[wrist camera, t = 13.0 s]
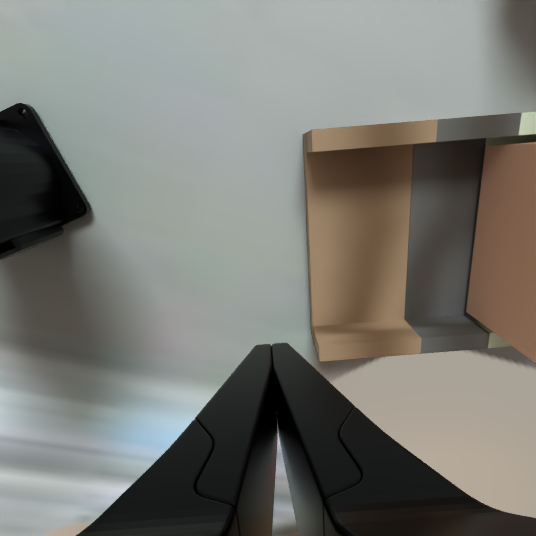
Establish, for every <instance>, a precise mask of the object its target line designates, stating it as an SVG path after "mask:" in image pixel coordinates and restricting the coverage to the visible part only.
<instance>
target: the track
mask: <svg viewBox="0 0 536 536" xmlns="http://www.w3.org/2000/svg"><path fill="white" fill-rule="evenodd" d="M526 142H536V112H525V113H513V114H501V115H488V116H476V117H464V118H451V119H439V120H427V121H414V122H402V123H390V124H377V125H365V126H353V127H340V128H328V129H316V130H310V131H309V132H307V133H305V134H303V150H304V174H305V198H306V222H307V246H308V270H309V294H310V318H311V334H312V337H313V341H314V344H315V348H316V351H317V354H318V358H319V361H320V362H321V361H333V360H346V359H359V358H371V357H384V356H396V355H409V354H421V353H434V352H445V351H459V350H472V349H484V348H497V347H510V346H511V345H510V344H509V343H507V342H506V341H505V340H503V339H502V338H501V337H499V336H498V335H497V334H495V333H494V332H493V331H491V330H490V329H489V328H487V327H486V326H485V325H483V324H482V323H481V322H479V321H478V320H477V319H475V318H474V317H473V316H471V315H470V314H469V313H467V312H466V309H467V301H468V292H469V283H470V275H471V266H472V258H473V249H474V241H475V232H476V224H477V215H478V206H479V198H480V189H481V181H482V172H483V164H484V155H485V147H486V146H489V145H501V144H514V143H526Z"/></svg>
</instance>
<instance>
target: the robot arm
mask: <svg viewBox="0 0 536 536" xmlns="http://www.w3.org/2000/svg"><path fill="white" fill-rule="evenodd" d="M24 109H25V110H26V111H27V117H26V118H24V116H23V114H22V112H23V110H24ZM78 204H80V205H81V206H82V208H83V210H82V211H79V210H78V208H77V206H78ZM89 212H90V205H89V203H88V201H87V200H86V198H85V196H84V194H83V193H82V191H81V189H80V188H79V186H78V184H77V182H76V181H75V179H74V177H73V175H72V174H71V172H70V170H69V168H68V167H67V165H66V163H65V162H64V160H63V158H62V156H61V155H60V153H59V151H58V149H57V148H56V146H55V144H54V142H53V141H52V139H51V137H50V136H49V134H48V132H47V130H46V129H45V127H44V125H43V123H42V122H41V120H40V118H39V116H38V115H37V113H36V111H35V110H34V109H33V107H31V106H30V105H27V104H22V103H18V104H15V105H13V106H11V107H9V108H7V109H5V110H3V111H1V112H0V260H2V259H5V258H7V257H10V256H12V255H15V254H17V253H20V252H22V251H25V250H27V249H30V248H32V247H34V246H37V245H39V244H41V243H43V242H46V241H48V240H50V239H53V238H55V237H57V236H59V235H62V233H63V230H64V229H63V228H62V225H65V224H67V223H69V222H71V221H74V220H76V219H78V218H81V217H83V216H85V215H87V214H88V213H89ZM276 411H277V412H276ZM277 423H278V430H277ZM278 432H279V438H280V443H281V448H282V453H283V458H284V463H285V468H286V473H287V478H288V483H289V488H290V493H291V498H292V503H293V508H294V513H295V518H296V523H297V528H298V533H299V536H536V518H532V517H526V516H521V515H516V514H511V513H507V512H503V511H500V510H497V509H494V508H492V507H489V506H487V505H485V504H483V503H481V502H479V501H478V500H476V499H474V498H472V497H471V496H469V495H468V494H466V493H465V492H463V491H462V490H461V489H459V488H458V487H456V486H455V485H454V484H452V483H451V482H450V481H448V480H447V479H445V478H444V477H443V476H442V475H440V474H439V473H438V472H436V471H435V470H434V469H432V468H431V467H430V466H428V465H427V464H425V463H424V462H423V461H421V460H420V459H419V458H417V457H416V456H414V455H413V454H412V453H411V452H409V451H408V450H407V449H405V448H404V447H402V446H401V445H400V444H399V443H398V442H396V441H395V440H393V439H392V438H391V437H390V436H388V435H387V434H386V433H385V432H383V431H382V430H381V429H380V428H379V427H378V426H377V425H375V424H374V423H373V422H372V421H371V420H370V419H369V418H367V417H366V416H365V415H364V414H363V413H362V412H361V411H360V410H359V409H357V408H356V407H355V406H354V405H353V404H352V403H351V402H350V401H349V400H348V399H347V398H346V397H345V396H344V395H342V394H341V393H340V392H339V391H338V390H337V389H336V388H335V387H334V386H333V385H332V384H331V383H330V382H329V381H327V380H326V379H325V378H324V377H323V376H322V375H321V374H320V373H319V372H318V371H317V370H316V369H315V368H314V367H312V366H311V365H310V364H309V363H308V362H307V361H306V360H305V359H304V358H303V357H302V356H301V355H300V354H299V353H297V352H296V351H295V350H294V349H293V348H292V347H291V346H290V345H289V344H288V343H276V344H273V345H272V346H271V345H270V344H263V345H256V346H255V347H254V348H253V349H252V350H251V352H250V353H249V354H248V355H247V356H246V358H245V359H244V360H243V361H242V362H241V364H240V365H239V366H238V367H237V368H236V370H235V371H234V372H233V373H232V374H231V376H230V377H229V378H228V379H227V381H226V382H225V383H224V384H223V385H222V387H221V388H220V389H219V390H218V391H217V393H216V394H215V395H214V396H213V397H212V399H211V400H210V401H209V402H208V403H207V405H206V406H205V407H204V408H203V409H202V411H201V412H200V413H199V414H198V415H197V417H196V418H195V420H193V421H192V422H191V424H190V425H189V426H188V427H187V428H186V430H185V431H184V432H183V433H182V434H181V435H180V436H179V438H178V439H177V440H176V441H175V442H174V443H173V444H172V445H171V447H170V448H169V449H168V450H167V451H166V452H165V453H164V454H163V455H162V456H161V457H160V458H159V459H158V460H157V461H156V462H155V463H154V464H153V465H152V466H151V467H150V468H149V469H148V470H147V471H146V472H145V473H144V474H143V475H142V476H141V477H140V478H139V479H138V480H137V481H136V482H134V483H133V484H132V485H131V486H130V487H129V488H128V489H127V490H126V491H125V492H124V493H123V494H122V495H121V496H120V497H119V498H118V499H117V500H116V501H115V502H114V503H113V504H112V505H111V506H110V507H109V508H108V509H107V510H106V511H105V512H104V513H103V514H102V515H100V516H99V517H98V518H97V519H96V520H95V521H94V522H93V523H92V524H91V525H89V526H88V527H87V528H86V529H84V530H83V531H82V532H80V533H79V534H78V535H76V536H272V522H273V505H274V488H275V471H276V454H277V434H278Z"/></svg>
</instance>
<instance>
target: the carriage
mask: <svg viewBox="0 0 536 536" xmlns="http://www.w3.org/2000/svg"><path fill="white" fill-rule="evenodd" d="M466 312H467V313H469V314H470V315H471V316H473V317H474V318H475V319H477V320H478V321H479V322H481V323H482V324H483V325H485V326H486V327H487V328H489V329H490V330H491V331H493V332H494V333H495V334H497V335H498V336H499V337H501V338H502V339H503V340H505V341H506V342H507V343H509V344H510V345H511V346H513V347H514V348H515V349H517V350H518V351H519V352H521V353H522V354H523V355H525V356H526V357H527V358H529V359H530V360H531V361H533V362H534V363H535V364H536V142H526V143H514V144H501V145H489V146H486V147H485V155H484V164H483V172H482V181H481V189H480V198H479V206H478V215H477V224H476V232H475V241H474V249H473V258H472V266H471V275H470V283H469V292H468V301H467V309H466Z"/></svg>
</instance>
